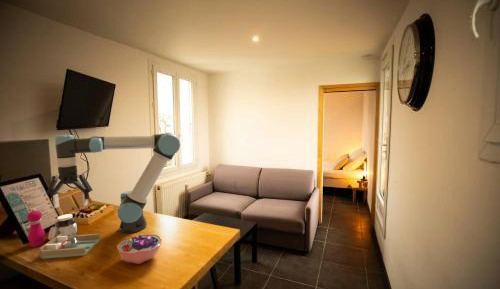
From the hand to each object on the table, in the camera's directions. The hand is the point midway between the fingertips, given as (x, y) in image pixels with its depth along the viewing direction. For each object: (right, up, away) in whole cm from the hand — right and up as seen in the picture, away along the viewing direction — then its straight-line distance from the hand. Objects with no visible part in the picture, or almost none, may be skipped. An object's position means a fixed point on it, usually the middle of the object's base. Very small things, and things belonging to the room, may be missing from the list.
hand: (71, 206), depth 120 cm
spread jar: (-17, -22, +15) cm, 31 cm away
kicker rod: (-1, -21, +1) cm, 21 cm away
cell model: (+40, -24, -8) cm, 47 cm away
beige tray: (-1, -23, +2) cm, 23 cm away
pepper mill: (-24, -23, +7) cm, 33 cm away
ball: (-7, -21, +1) cm, 22 cm away
